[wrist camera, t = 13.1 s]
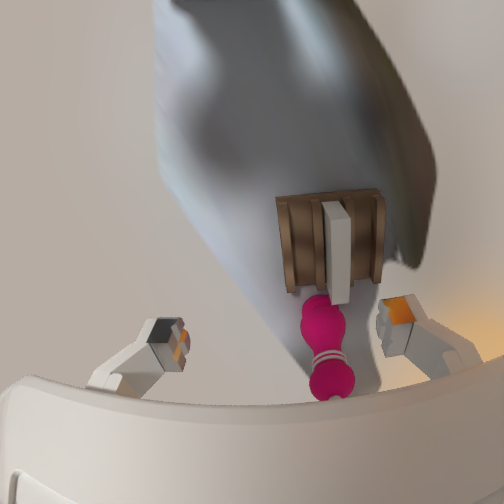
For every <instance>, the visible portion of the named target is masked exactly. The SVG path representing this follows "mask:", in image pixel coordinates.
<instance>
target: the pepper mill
mask: <svg viewBox="0 0 504 504" xmlns="http://www.w3.org/2000/svg"><path fill="white" fill-rule="evenodd" d="M302 317H303V318H302V320H301V325H300V328H301V333H302V336H303V338H304V340H305V341H306V343H307V344H308V345H309V346H310V347H311V349H312V350H313V352H314V359H313V360H312V363H311V366H312V375H311V377H310V381H309V386H310V390H311V392H312V394H313V396H314V397H315V398H316V399H318V400H320V401H326V400H335V399H342V398H346V397H347V396H348V395H350V393H351V392H352V390H353V388H354V385H355V376H354V372H353V371H352V369H351V368H350V367H349V366H348V362H347V357H346V355H345V354H344V353H342V351H341V342H342V339H343V336H344V333H345V318H344V316H343V314H342V312H341V311H340V310H339V308H338V304H337V305H332V304H331V300H330V296H328V295H316V296H313V297H311V298H309V299H308V300H307V301H306V302H305V303H304V305H303V307H302Z"/></svg>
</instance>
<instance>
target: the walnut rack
mask: <svg viewBox="0 0 504 504" xmlns="http://www.w3.org/2000/svg"><path fill="white" fill-rule="evenodd" d="M330 201H339V202H340V204H341V205H342V207H343V208H344V209H345V211H346V212H347V214H348V215H349V217H350V218H351V267H350V287H353V286H354V280H357V279H365V278H371V280H372V282H373V284H377V283H381V276H382V265H383V251H384V233H385V199H384V198H383V197H382V196H381V195H380V190H379V189H364V190H350V191H336V192H324V193H313V194H302V195H292V196H282V197H276V205H277V213H278V221H279V230H280V238H281V247H282V256H283V265H284V274H285V284H286V287H287V293H295V286H300V285H310V284H316V288H317V290H325V283H326V281H325V268H324V240H323V221H322V205H321V202H330Z"/></svg>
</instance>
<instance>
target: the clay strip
mask: <svg viewBox="0 0 504 504" xmlns="http://www.w3.org/2000/svg"><path fill="white" fill-rule="evenodd" d="M321 205H322V221H323V240H324V268H325V281H326V284H327V288H328V292H329V296H330V300H331V304H332V305H337V304H345V303H349V294H350V267H351V218H350V217H349V215H348V214H347V212H346V211H345V209H344V208H343V207H342V205H341V204H340V202H339V201H330V202H321Z"/></svg>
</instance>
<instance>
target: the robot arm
mask: <svg viewBox="0 0 504 504" xmlns="http://www.w3.org/2000/svg"><path fill="white" fill-rule="evenodd" d="M378 309H379V311H380V313H379V314H378V315H377V320H376V329H377V334H378V337H379V338H380V339H381V340H383V341H382V345H381V346H382V349H383V352H384V354H385V357H392V356H398V355H403V354H404V356H406V357H407V358H408V359H409V360H410V361H411V362H412V363H414V364H415V365H416V366H417V367H418V368H419V369H420V370H421V371H423V372H424V373H425V374H426V375H427V376H428V377H429V378H430V379H431V380H430V381H426V382H422V383H418V384H415V385H411V386H406V387H402V388H398V389H393V390H388V391H383V392H378V393H373V394H367V395H362V396H355V397H349V398H342V399H335V400H326V401H318V402H307V403H297V404H280V405H248V406H247V405H246V406H245V405H243V406H242V405H240V406H236V405H233V406H232V405H201V404H185V403H173V402H163V401H153V400H146V399H140V398H141V397H142V396H143V395H144V394H145V393H146V392H147V391H148V390H149V389H150V388H151V387H152V386H153V384H155V383H156V381H157V380H158V379H159V378H160V377H161V376H162V375H163V374H164V373H165V372H183V369H184V366H185V363H186V359H185V357H184V356H185V355H186V354H187V353H189V350H190V337H189V334H188V332H187V331H186V330H185V329H183V327H184V322H183V320H182V318H180V317H150V318H148V319H147V320H146V322H145V324H144V326H143V328H142V330H141V332H140V334H139V336H138V338H137V340H136V342H135V343H131V344H130V345H128V346H127V347H126V348H124V349H123V350H121V351H120V352H119V353H117V354H116V355H115V356H113V357H112V358H110V359H109V360H108V361H106V362H105V363H103V364H102V365H101V366H99V367H98V368H97V369H95V371H94V373H93V374H92V376H91V378H90V380H89V382H88V384H87V386H86V388H85V389H83V388H79V387H75V386H71V385H67V384H63V383H59V382H56V381H52V380H48V379H45V378H42V377H39V376H36V375H27V376H25V377H23V378H22V379H20V380H18V381H17V382H15V383H14V384H12V385H10V386H9V387H8V388H7V389H5V390H4V391H3V392H2V394H1V395H0V504H504V355H502V356H500V357H497V358H495V359H492V360H490V361H487V362H485V363H483V361H482V359H481V357H480V355H479V353H478V351H477V350H476V348H475V346H474V344H473V343H472V342H470V341H469V340H467V339H465V338H464V337H462V336H460V335H459V334H457V333H455V332H454V331H452V330H450V329H448V328H447V327H445V326H443V325H441V324H440V323H438V322H436V321H435V320H433V319H428V317H427V316H426V314H425V312H424V310H423V308H422V307H421V305H420V303H419V302H418V300H417V298H416V297H415V295H414V294H411V295H406V296H402V297H395V298H389V299H382V300H380V302H379V305H378Z"/></svg>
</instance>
